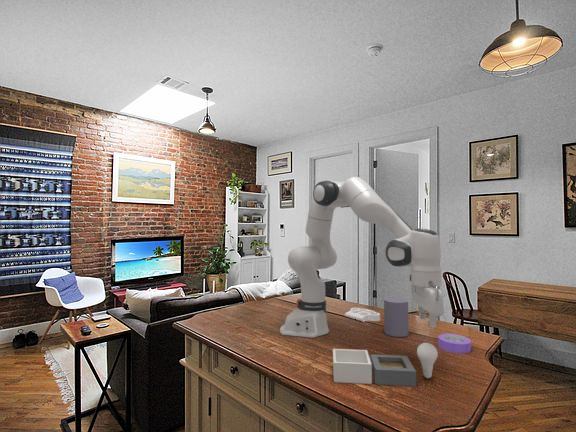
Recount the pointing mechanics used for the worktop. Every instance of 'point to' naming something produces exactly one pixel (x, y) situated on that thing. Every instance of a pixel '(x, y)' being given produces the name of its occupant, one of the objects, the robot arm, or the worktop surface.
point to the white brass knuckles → (363, 314)
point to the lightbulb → (427, 358)
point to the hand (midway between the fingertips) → (427, 322)
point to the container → (396, 317)
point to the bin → (352, 366)
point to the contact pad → (391, 365)
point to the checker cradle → (393, 371)
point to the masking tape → (454, 343)
